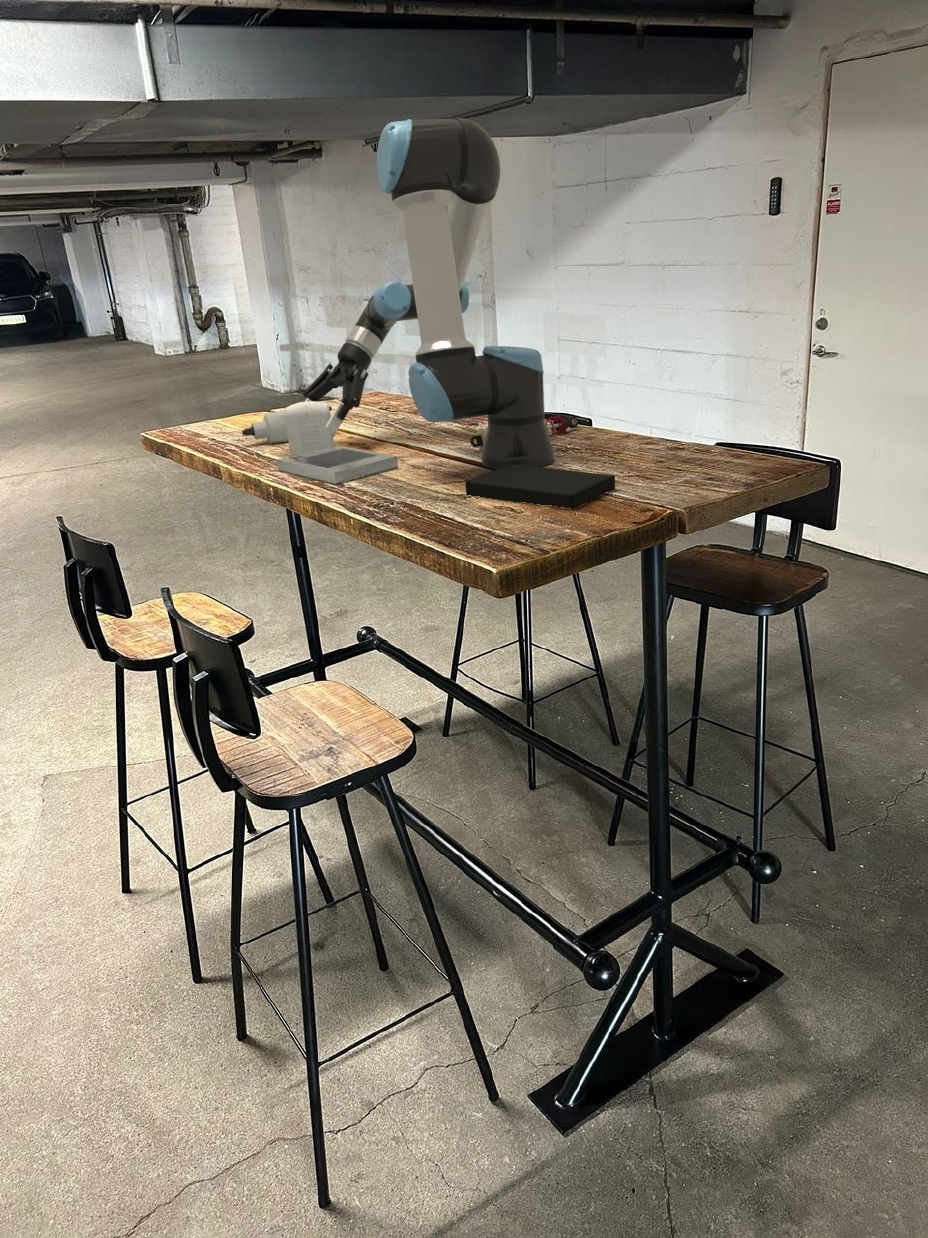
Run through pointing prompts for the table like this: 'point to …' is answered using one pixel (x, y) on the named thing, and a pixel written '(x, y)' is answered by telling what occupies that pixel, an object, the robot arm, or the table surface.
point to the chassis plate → (337, 464)
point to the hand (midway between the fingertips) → (313, 427)
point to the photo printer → (308, 427)
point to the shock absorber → (559, 424)
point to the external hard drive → (540, 485)
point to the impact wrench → (271, 427)
